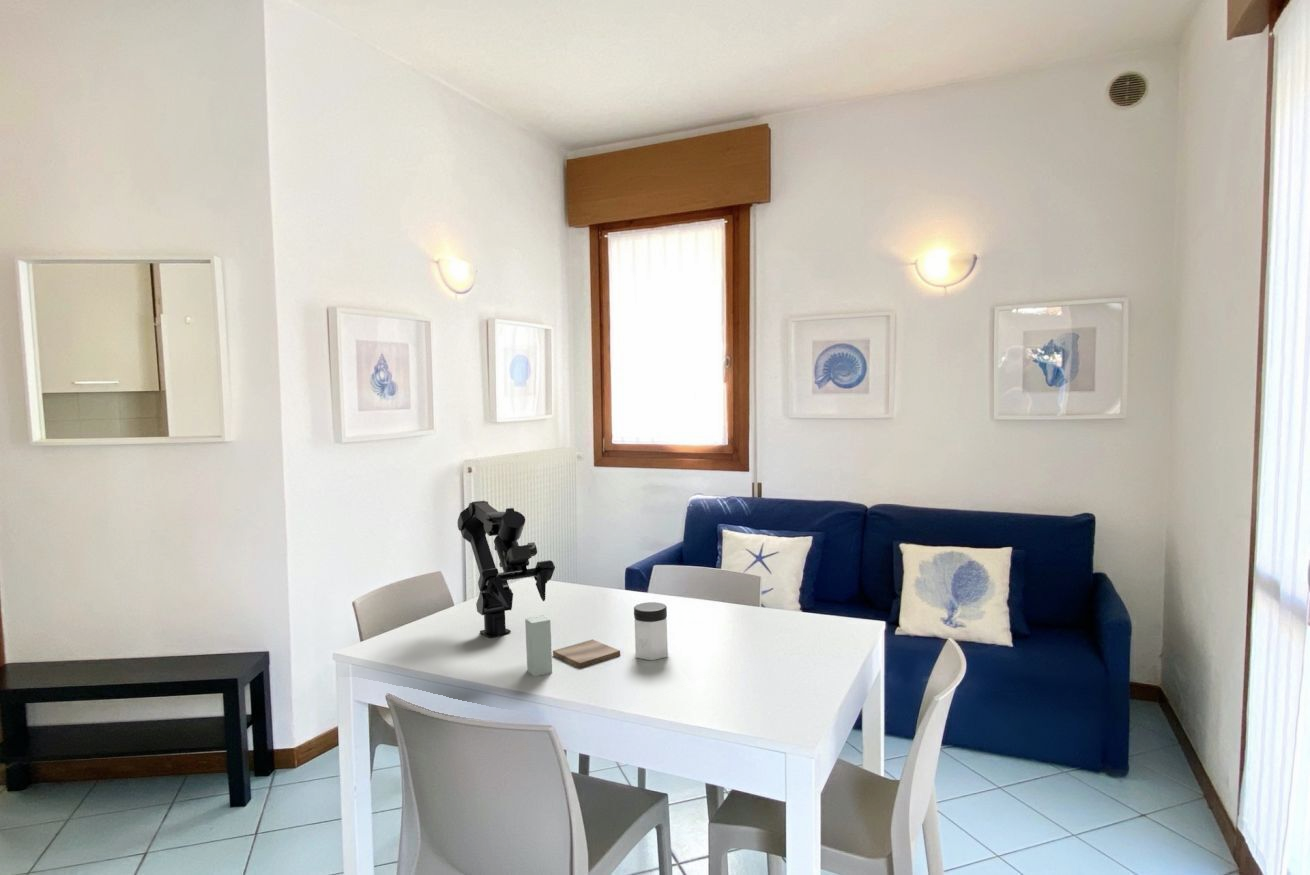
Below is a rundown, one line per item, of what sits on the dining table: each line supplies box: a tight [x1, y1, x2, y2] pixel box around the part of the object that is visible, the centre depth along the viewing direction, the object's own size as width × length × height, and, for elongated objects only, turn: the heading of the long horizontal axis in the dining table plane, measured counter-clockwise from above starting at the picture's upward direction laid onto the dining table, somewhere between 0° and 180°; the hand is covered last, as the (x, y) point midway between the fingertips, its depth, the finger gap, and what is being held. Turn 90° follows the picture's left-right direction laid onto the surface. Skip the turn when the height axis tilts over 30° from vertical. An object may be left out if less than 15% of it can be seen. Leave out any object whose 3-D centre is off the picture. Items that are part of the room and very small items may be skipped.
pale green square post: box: [524, 614, 553, 677], centre depth 165 cm, size 4×4×12 cm
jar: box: [633, 601, 669, 661], centre depth 174 cm, size 9×8×12 cm
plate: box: [552, 639, 621, 669], centre depth 175 cm, size 12×12×1 cm
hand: (526, 603), depth 171 cm, fingers open, 9 cm apart
